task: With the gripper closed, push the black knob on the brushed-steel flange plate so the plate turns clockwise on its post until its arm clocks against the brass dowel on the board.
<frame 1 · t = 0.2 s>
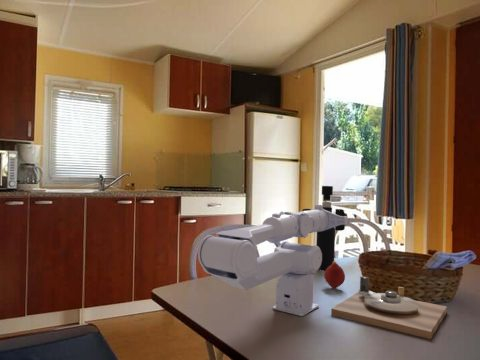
hand: (333, 217, 109), 21 cm above the table, tool horizontal, fingers open, 7 cm apart
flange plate: (384, 293, 93), point 4 cm above the table, hinge at 60.0°
red oval fruit: (334, 289, 112), on the table
wine bottle: (324, 269, 138), on the table
base board: (390, 313, 91), on the table
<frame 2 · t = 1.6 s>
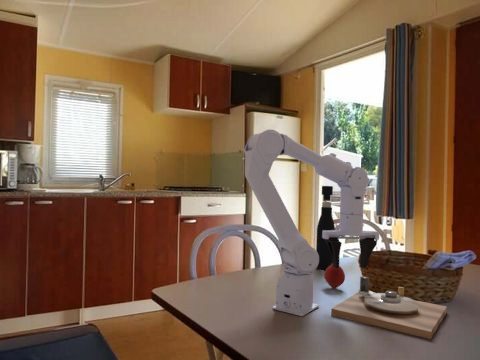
hand: (349, 267, 98), 9 cm above the table, tool pointing down, fingers open, 7 cm apart
nothing on the table moved.
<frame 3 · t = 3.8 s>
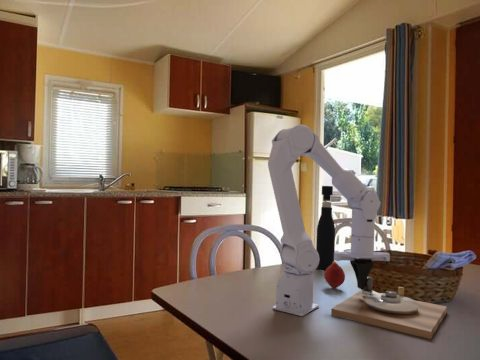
hand: (360, 288, 99), 4 cm above the table, tool pointing down, fingers closed
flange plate: (385, 293, 93), point 4 cm above the table, hinge at 53.4°, touching gripper
everything else where it was.
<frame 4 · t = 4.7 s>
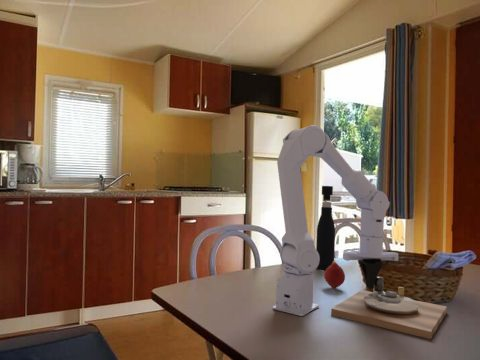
hand: (369, 287, 100), 4 cm above the table, tool pointing down, fingers closed
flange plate: (387, 293, 93), point 4 cm above the table, hinge at 34.0°, touching gripper
everything else where it was.
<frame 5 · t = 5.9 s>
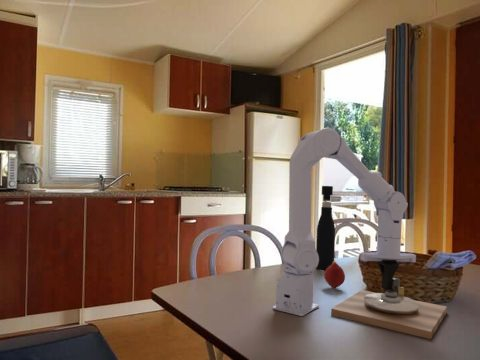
hand: (386, 289, 100), 4 cm above the table, tool pointing down, fingers closed, pressing on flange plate
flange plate: (391, 293, 93), point 4 cm above the table, hinge at 8.7°, touching base board, gripper
everything else where it was.
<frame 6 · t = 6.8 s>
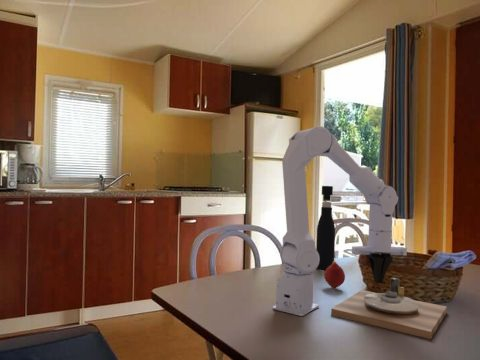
hand: (378, 282, 101), 5 cm above the table, tool pointing down, fingers closed
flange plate: (391, 293, 93), point 4 cm above the table, hinge at 8.8°
everything else where it was.
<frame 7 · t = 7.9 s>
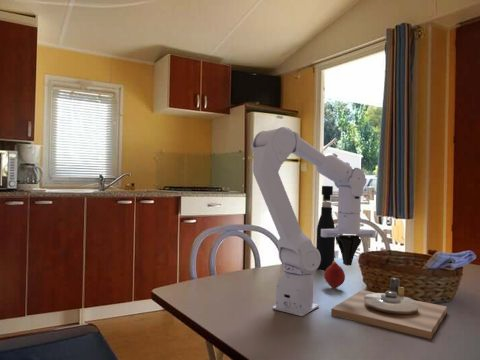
hand: (347, 264, 101), 9 cm above the table, tool pointing down, fingers closed
nothing on the table moved.
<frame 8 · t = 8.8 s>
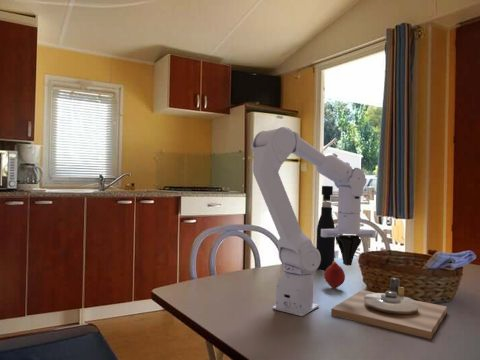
hand: (347, 264, 101), 9 cm above the table, tool pointing down, fingers closed
nothing on the table moved.
at the end: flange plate at +9° (first picture: +60°) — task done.
